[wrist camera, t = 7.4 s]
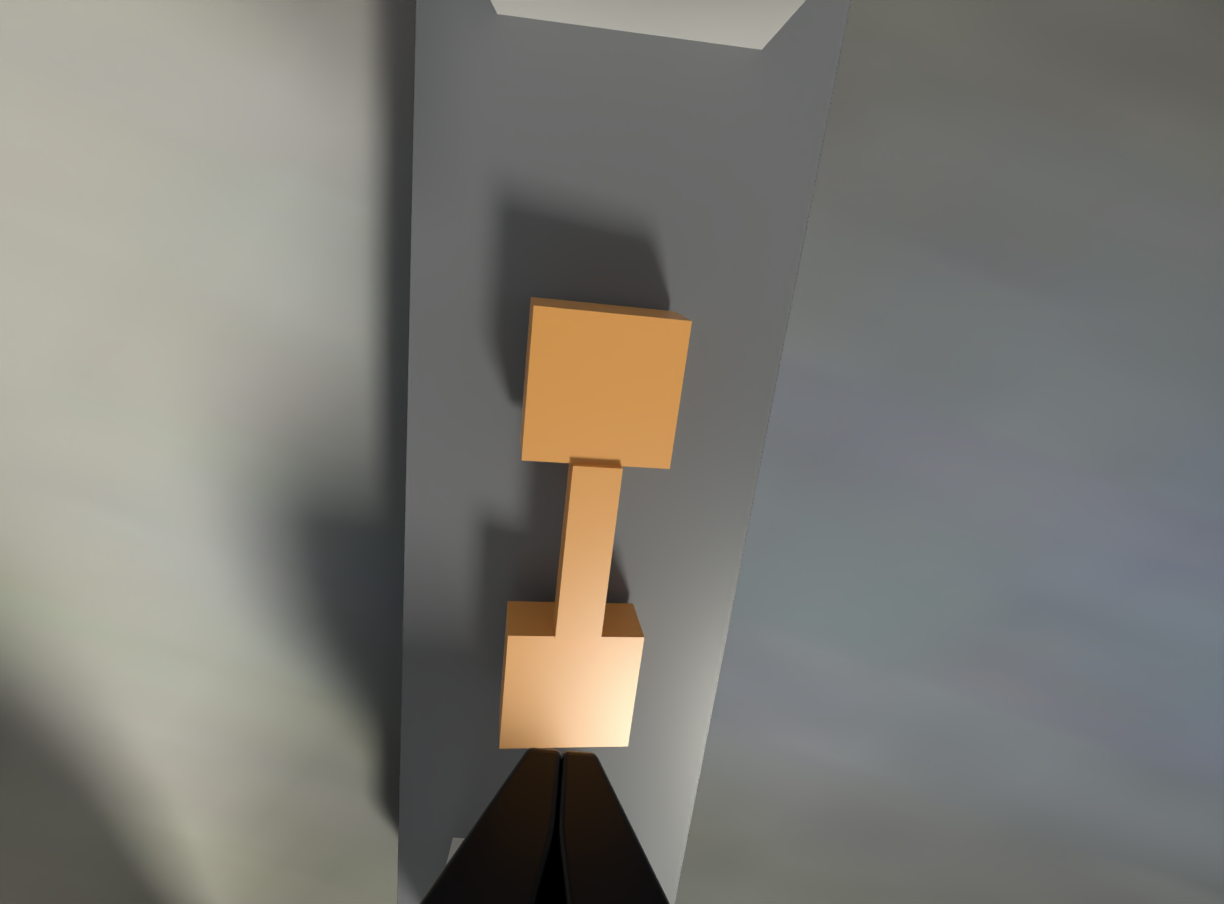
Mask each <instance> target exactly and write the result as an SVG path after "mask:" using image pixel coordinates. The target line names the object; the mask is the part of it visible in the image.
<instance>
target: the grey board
mask: <svg viewBox="0 0 1224 904" xmlns="http://www.w3.org/2000/svg"><path fill="white" fill-rule="evenodd" d="M850 2H851V0H806V1H805V2H804V3H803V4H802V5H801V6H800V7H799V9H798V10H797V11H796V12H795V13H794V14H793V15H792V16H791V18H790V19H789V20H788V21H787V22H786V23H785V24H784V25H783V26H782V28H781V29H780V30H779V31H778V32H777V33H776V34H775V35H774V37H773V38H772V39H771V40H770V41H769V42H768V43H767V44H766V46H765V47H764V48H763V49H762V50H760V49H752V48H745V47H738V46H730V45H723V44H715V43H708V42H701V41H693V40H686V39H678V38H671V37H664V36H656V35H649V34H641V33H634V32H627V31H619V30H612V29H605V28H597V27H590V26H582V25H575V24H568V23H560V22H553V21H545V20H538V19H531V18H523V17H516V16H508V15H501V14H497V12H496V10H495V8H494V6H493V4H492V2H491V0H416V29H415V76H414V124H413V171H412V219H411V266H410V314H409V361H408V409H407V456H406V504H405V551H404V599H403V646H402V694H401V741H400V789H399V836H398V884H397V904H419V903H420V902H421V900H422V899H423V897H424V896H425V894H426V893H427V892H428V890H429V889H430V887H431V886H432V884H433V883H434V882H435V880H436V879H437V877H438V876H439V874H440V873H441V872H442V870H443V869H444V867H445V866H446V863H447V859H448V855H449V851H450V847H451V843H452V839H453V837H454V838H465V837H466V836H467V834H468V833H469V832H470V830H471V829H472V827H473V826H474V824H475V823H476V822H477V820H478V819H479V817H480V816H481V814H482V813H483V812H484V810H485V809H486V807H487V806H488V804H489V803H490V802H491V800H492V799H493V797H494V796H495V794H496V793H497V792H498V790H499V789H500V787H501V786H502V784H503V783H504V782H505V780H506V779H507V777H508V776H509V774H510V773H511V772H512V770H513V769H514V767H515V766H516V764H517V763H518V762H519V760H520V759H521V757H522V756H523V754H524V753H525V752H526V751H527V750H528V749H530V748H512V749H499V715H500V695H501V682H502V668H503V655H504V642H505V629H506V616H507V603H508V601H532V602H555V596H556V586H557V576H558V566H559V556H560V546H561V536H562V526H563V516H564V507H565V497H566V487H567V477H568V467H569V463H558V462H540V461H523V460H522V459H521V445H520V432H521V418H522V405H523V392H524V379H525V366H526V353H527V339H528V326H529V313H530V300H531V297H538V298H548V299H557V300H567V301H577V302H587V303H597V304H607V305H617V306H627V307H637V308H647V309H657V310H667V311H675V312H677V313H679V314H680V315H682V316H684V317H686V318H687V319H689V320H691V321H692V325H691V332H690V338H689V345H688V352H687V358H686V365H685V372H684V378H683V385H682V391H681V398H680V405H679V411H678V418H677V425H676V431H675V438H674V444H673V451H672V458H671V464H670V469H662V468H644V467H627V466H622V468H623V472H622V480H621V488H620V496H619V503H618V511H617V519H616V527H615V535H614V542H613V550H612V558H611V566H610V574H609V582H608V589H607V597H606V603H628V604H633V605H634V608H635V611H636V614H637V617H638V620H639V623H640V626H641V629H642V632H643V635H644V643H643V650H642V656H641V663H640V670H639V676H638V683H637V689H636V696H635V703H634V709H633V716H632V723H631V729H630V736H629V742H628V746H625V747H568V748H544V749H556V750H558V751H560V753H561V759H562V755H563V753H564V752H565V751H579V752H591V753H594V754H595V755H596V756H597V757H598V759H599V760H600V762H601V764H602V766H603V769H604V771H605V773H606V775H607V777H608V779H609V781H610V783H611V785H612V787H613V789H614V791H615V793H616V795H617V797H618V799H619V801H620V803H621V805H622V807H623V809H624V811H625V813H626V815H627V817H628V819H629V822H630V824H631V826H632V828H633V830H634V832H635V834H636V836H637V838H638V840H639V842H640V844H641V846H642V848H643V850H644V852H645V854H646V856H647V858H648V860H649V862H650V864H651V866H652V868H653V870H654V873H655V875H656V877H657V879H658V881H659V883H660V885H661V887H662V889H663V891H664V893H665V895H666V897H667V899H668V901H669V903H670V904H675V899H676V894H677V889H678V883H679V878H680V873H681V868H682V863H683V858H684V853H685V848H686V842H687V837H688V832H689V827H690V822H691V817H692V812H693V807H694V801H695V796H696V791H697V786H698V781H699V776H700V771H701V766H702V761H703V755H704V750H705V745H706V740H707V735H708V730H709V725H710V720H711V714H712V709H713V704H714V699H715V694H716V689H717V684H718V679H719V673H720V668H721V663H722V658H723V653H724V648H725V643H726V638H727V632H728V627H729V622H730V617H731V612H732V607H733V602H734V597H735V591H736V586H737V581H738V576H739V571H740V566H741V561H742V556H743V550H744V545H745V540H746V535H747V530H748V525H749V520H750V515H751V509H752V504H753V499H754V494H755V489H756V484H757V479H758V474H759V469H760V463H761V458H762V453H763V448H764V443H765V438H766V433H767V428H768V422H769V417H770V412H771V407H772V402H773V397H774V392H775V387H776V381H777V376H778V371H779V366H780V361H781V356H782V351H783V346H784V340H785V335H786V330H787V325H788V320H789V315H790V310H791V305H792V299H793V294H794V289H795V284H796V279H797V274H798V269H799V264H800V258H801V253H802V248H803V243H804V238H805V233H806V228H807V223H808V218H809V212H810V207H811V202H812V197H813V192H814V187H815V182H816V177H817V171H818V166H819V161H820V156H821V151H822V146H823V141H824V136H825V130H826V125H827V120H828V115H829V110H830V105H831V100H832V95H833V89H834V84H835V79H836V74H837V69H838V64H839V59H840V54H841V48H842V43H843V38H844V33H845V28H846V23H847V18H848V13H849V7H850Z"/></svg>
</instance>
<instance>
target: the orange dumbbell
mask: <svg viewBox="0 0 1224 904" xmlns="http://www.w3.org/2000/svg"><path fill="white" fill-rule="evenodd" d="M691 325H692V321H691V320H689V319H687V318H686V317H684V316H682V315H680V314H679V313H677V312H675V311H667V310H657V309H647V308H637V307H627V306H617V305H607V304H597V303H587V302H577V301H567V300H557V299H548V298H538V297H531V300H530V313H529V326H528V339H527V353H526V366H525V379H524V392H523V405H522V418H521V432H520V445H521V459H522V460H523V461H540V462H558V463H569V467H568V477H567V487H566V497H565V507H564V516H563V526H562V536H561V546H560V556H559V566H558V576H557V586H556V596H555V602H532V601H508V603H507V616H506V629H505V642H504V655H503V668H502V682H501V695H500V715H499V749H512V748H568V747H625V746H628V742H629V736H630V729H631V723H632V716H633V709H634V703H635V696H636V689H637V683H638V676H639V670H640V663H641V656H642V650H643V643H644V635H643V632H642V629H641V626H640V623H639V620H638V617H637V614H636V611H635V608H634V605H633V604H628V603H606V597H607V589H608V582H609V574H610V566H611V558H612V550H613V542H614V535H615V527H616V519H617V511H618V503H619V496H620V488H621V480H622V472H623V468H622V466H627V467H644V468H662V469H670V464H671V458H672V451H673V444H674V438H675V431H676V425H677V418H678V411H679V405H680V398H681V391H682V385H683V378H684V372H685V365H686V358H687V352H688V345H689V338H690V332H691Z"/></svg>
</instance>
